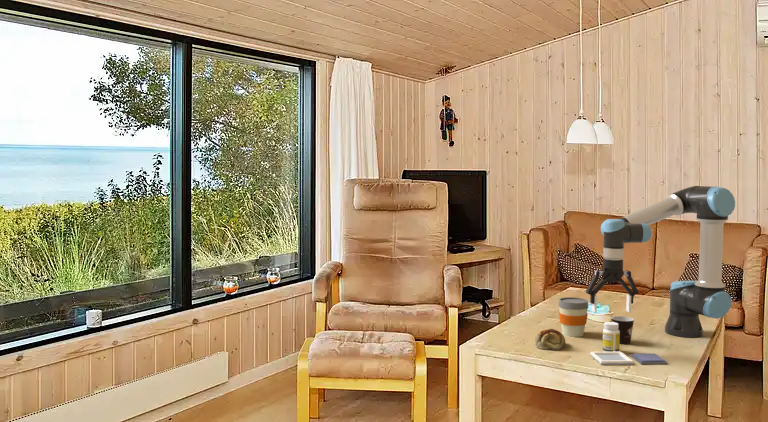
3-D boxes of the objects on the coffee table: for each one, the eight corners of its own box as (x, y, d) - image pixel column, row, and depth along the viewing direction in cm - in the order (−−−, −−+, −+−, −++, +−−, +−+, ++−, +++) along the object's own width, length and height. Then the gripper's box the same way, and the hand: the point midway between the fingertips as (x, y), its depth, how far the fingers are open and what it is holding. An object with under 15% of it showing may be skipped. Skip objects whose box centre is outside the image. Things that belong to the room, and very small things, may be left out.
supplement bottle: (615, 349, 267) (616, 321, 266) (621, 353, 261) (622, 325, 260) (599, 349, 267) (600, 321, 266) (605, 353, 261) (606, 325, 260)
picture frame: (620, 355, 259) (620, 351, 259) (633, 364, 247) (633, 360, 247) (590, 355, 258) (590, 351, 258) (601, 365, 247) (601, 361, 246)
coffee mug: (619, 345, 271) (620, 321, 271) (606, 340, 280) (607, 316, 279) (643, 343, 274) (644, 319, 274) (630, 338, 283) (631, 315, 282)
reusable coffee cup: (584, 330, 295) (585, 297, 294) (590, 338, 283) (591, 303, 281) (555, 330, 296) (556, 296, 295) (560, 337, 284) (561, 303, 283)
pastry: (543, 352, 263) (543, 332, 263) (528, 343, 275) (528, 324, 275) (574, 349, 267) (575, 329, 266) (558, 341, 279) (558, 322, 278)
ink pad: (655, 356, 257) (655, 352, 257) (667, 364, 247) (667, 360, 247) (630, 356, 257) (630, 353, 257) (641, 364, 247) (641, 361, 247)
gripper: (640, 257, 265) (638, 309, 267) (578, 257, 264) (577, 309, 266) (648, 259, 257) (646, 313, 259) (584, 260, 257) (583, 314, 258)
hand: (611, 311), depth 262 cm, fingers open, 13 cm apart
